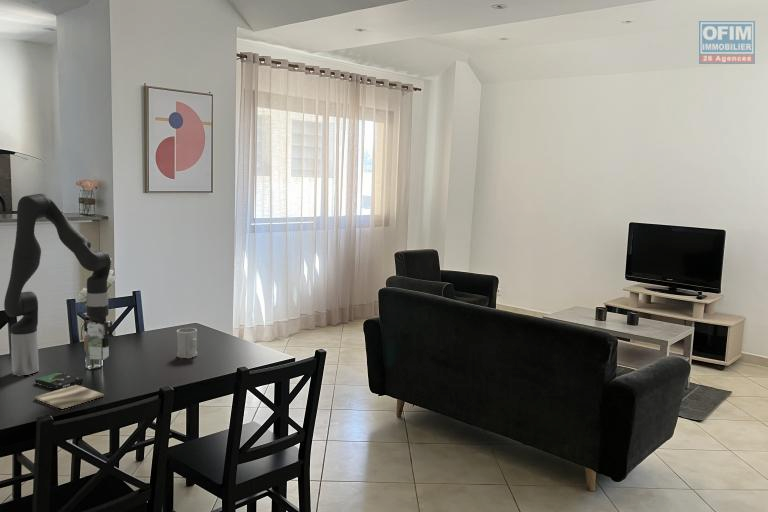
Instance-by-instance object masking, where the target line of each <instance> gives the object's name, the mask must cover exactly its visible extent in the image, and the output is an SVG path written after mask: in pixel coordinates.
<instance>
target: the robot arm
mask: <svg viewBox="0 0 768 512" xmlns="http://www.w3.org/2000/svg"><path fill="white" fill-rule="evenodd" d="M16 210H17V211H16V233H15V234H16V235H15V241H14V249H13V253H12V254H13V255H12V261H11V262H12V263H11V269H10V275H9V277H10V278H9V281H8V285H7V288H6V292H5V296H4V302H3V303H4V304H3V306H4V307H3V308H4V312H5V314H6V315H7V316H8V317H10V318H12V317H13V318H15V317H21V319H20V320H18V321H17V322H15V323H13V324H11V326H10V329H9V330H10V345H11V346H10V347H11V351H10V353H11V372H12V371H13V373H12V375H13V374H16V375H22V374H30V373H35V372H37V371H39V372H40V370H39V369H40V368H39V363H40V362H39V347H38V346H39V344H38V325H39V301H38V297H37V295H36V293H35V292H33V291H23V288H24V287H25V285H26V283H28V281H29V280H30V278H32V276H34V274H35V273H36V271H37V270H38V268H39V266H40V262H41V258H42V257H41V256H42V248H41V246H40V243H39V242H38V240H37V237H36V236H35V227H36V226H35V225H36V221H37V220H39V219H44V218H46V220H48V221H49V222H51V223H52V224H53V226H54V227H55V229H56V232H57V236H58V238H59V240H60V241H61V243H63V245H64V246H65V247H66V248H68V250H70V252H71V253H73V254H74V256H75V258H76V259H77V261H78V262H79V264H80V266H82V268H83V269H85V270H86V271H89V272H92V274H91V276H89V277H87V279H86V298H85V299H86V316H84V317H83V330H84V332H85V333H86V334H87V335H88V327H87V323H89V322H95V324H97V323H99V324H102V325H103V324H104V330H103V331H102V330H101V329H100V328H99V327H98V332H99V333H101V336H102V347H103V348H105V347H109V338H110V337H113V321H112V320H109V321H106V320H107V316H108V315H109V294H108V279H109V275H110V271H111V267H112V261H111V256H110V255H109V253H108V252H107V251H105V250H97V251H92V250H91V246H92V245H91V242H90V240H89V239H87V237H85V236H84V235H83V234H82V233H81V232H80V231H79V230H78V229H77V228H76V227H74V225H73V224H72V222H70V220H68V217H66V216H65V214H64V213H63V211H62V210H61V209H60V208H59V207H58V205H57V204H56V203H55V201H54V200H53V199H52V198H51V197H50V196H49V195H47V194H46V193H45V194H44V193H37V194H35V193H34V194H30V195H24V196H22V197H21V198H20V199H19V201H18V203H17V208H16ZM103 332H105V335H104V333H103Z"/></svg>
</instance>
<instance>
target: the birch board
mask: <svg viewBox="0 0 768 512" xmlns="http://www.w3.org/2000/svg"><path fill="white" fill-rule="evenodd" d="M102 396H104V397H105V394H104V393H103V392H99V391H96V390H93V389H90V388H87V387H84V386H83V385H74V386H70V387H67V388H63V389H60V390H53V391H49V392H47V393H42V394H39V395H35V396H34V400H35V399H38V400H40V401H42V402H45V403H47V404H50V405H53V406H55V407H58V408H61V409H64V408H68V407H71V406H74V405H77V404H81V403H84V402H87V401H90V402H92V401H91V400H93V401H95V400H94V399H96V398H99V397H102ZM87 403H88V402H87ZM47 404H46V405H47ZM84 404H85V403H84ZM81 405H82V404H81ZM68 409H69V408H68Z"/></svg>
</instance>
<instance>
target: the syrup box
mask: <svg viewBox="0 0 768 512" xmlns="http://www.w3.org/2000/svg"><path fill="white" fill-rule="evenodd" d="M106 321H108V320H107V319H106ZM98 327H99V328H100V329H101V330H102V331H103V330H104V324H103V325H102V324H99V323H97V324H95V322H89V323H87V328H88V334H87V351H88V352H87V354H88V355H87V356H88V360H89V361H90V360H92V361H103V360H106V359H107V358H108V357H109V356H110V353H109V347H110V346H108V347H105V348H103V347H102V336H101V333H99V332H98ZM103 333H104V335H105V332H103Z"/></svg>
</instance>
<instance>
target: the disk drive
mask: <svg viewBox="0 0 768 512" xmlns="http://www.w3.org/2000/svg"><path fill="white" fill-rule="evenodd" d="M35 382H36V383H39V384H42V385H45V386H48V387H52V388H55V389H59V390H60V389H63V388H66V387H70V386H73V385H76V384H79V383H83V384H84V377H80V376H77V375H72V374H69V373H65V372H61V371H57V372H54V373H50V374H47V375H43V376H41V377H36V378H35V379H34V383H35Z"/></svg>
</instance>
